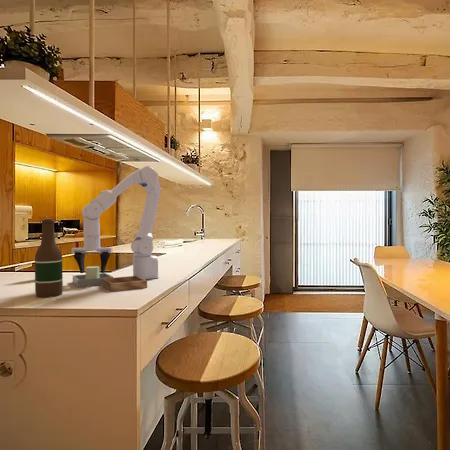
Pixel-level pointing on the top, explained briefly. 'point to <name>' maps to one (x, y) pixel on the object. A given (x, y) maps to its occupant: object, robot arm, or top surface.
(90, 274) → the sage block
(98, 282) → the grey bin
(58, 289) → the beer bottle
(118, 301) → the top surface
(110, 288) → the walnut bin
